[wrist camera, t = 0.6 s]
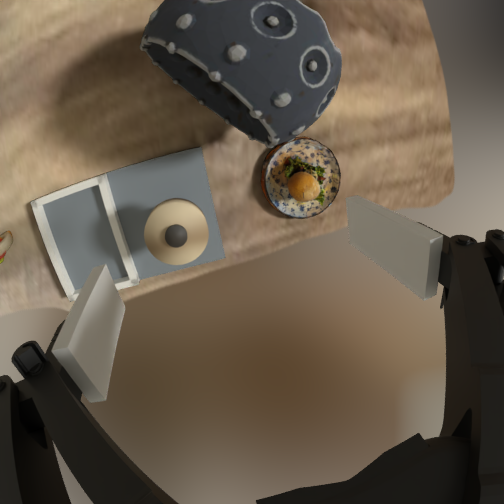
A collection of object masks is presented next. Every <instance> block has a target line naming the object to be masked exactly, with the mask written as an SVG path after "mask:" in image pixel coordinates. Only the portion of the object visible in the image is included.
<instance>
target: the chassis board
mask: <svg viewBox="0 0 504 504" xmlns="http://www.w3.org/2000/svg"><path fill="white" fill-rule="evenodd" d="M171 198H182V199H186V200H189V201H191V202H193V203H194V204H196V205H197V206H198V207H199V208H200V209H201V210H202V212H203V214H204V216H205V218H206V222H207V225H208V230H209V237H208V242H207V245H206V248H205V249H204V251H203V252H202V254H201V255H200V256H199V257H197V258H196V259H195V260H193V261H191V262H189V263H186V264H183V265H170V264H166V263H163V262H161V261H159V260H158V259H156V258H155V257H154V256H153V255H152V254H151V253H150V251H149V250H148V248H147V246H146V243H145V239H144V230H145V225H146V222H147V220H148V217H149V215H150V213H151V211H152V210H153V209H154V208H155V207H156V206H157V205H158V204H159V203H161V202H163V201H165V200H167V199H171ZM30 203H31V206H32V210H33V213H34V216H35V219H36V222H37V225H38V228H39V231H40V233H41V236H42V239H43V242H44V244H45V247H46V249H47V252H48V255H49V257H50V260H51V262H52V264H53V267H54V269H55V271H56V274H57V276H58V278H59V281H60V283H61V285H62V287H63V289H64V292H65V294H66V296H67V298H68V299H69V301H70V302H71V301H75V300H76V299H77V297H78V295H79V293H80V291H81V289H82V287H83V285H84V284H85V282H86V280H87V278H88V276H89V275H90V273H91V271H92V269H93V268H94V267H97V266H100V265H104V264H106V265H107V268H108V270H109V272H110V275H111V277H112V279H113V282H114V284H115V286H116V288H117V290H119V289H123V288H127V287H131V286H135V285H139V282H140V280H141V279H145V278H149V277H152V276H156V275H160V274H164V273H168V272H172V271H176V270H180V269H184V268H188V267H192V266H196V265H200V264H204V263H208V262H212V261H215V260H219V259H223V258H225V253H224V249H223V245H222V240H221V236H220V231H219V227H218V223H217V218H216V214H215V209H214V205H213V200H212V195H211V191H210V186H209V182H208V177H207V172H206V167H205V163H204V158H203V153H202V148H201V147H197V148H193V149H189V150H185V151H181V152H177V153H173V154H169V155H165V156H161V157H157V158H154V159H150V160H147V161H143V162H140V163H136V164H133V165H130V166H126V167H123V168H120V169H117V170H113V171H110V172H107V173H104V174H101V175H98V176H95V177H92V178H90V179H87V180H84V181H81V182H78V183H76V184H73V185H70V186H68V187H65V188H62V189H60V190H57V191H55V192H52V193H50V194H47V195H45V196H42V197H40V198H37V199H35V200H33V201H31V202H30Z"/></svg>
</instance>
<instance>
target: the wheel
mask: <svg viewBox="0 0 504 504" xmlns="http://www.w3.org/2000/svg"><path fill="white" fill-rule="evenodd" d="M208 237H209V230H208V225H207V222H206V218H205V216H204V214H203V212H202V210H201V209H200V208H199V207H198V206H197V205H196V204H194V203H193V202H191V201H189V200H186V199H182V198H171V199H167V200H165V201H163V202H161V203H159V204H158V205H157V206H156V207H155V208H154V209H153V210H152V211H151V213H150V215H149V217H148V220H147V222H146V225H145V230H144V239H145V243H146V246H147V248H148V250H149V251H150V253H151V254H152V255H153V256H154V257H155V258H156V259H158V260H159V261H161V262H163V263H166V264H170V265H183V264H186V263H189V262H191V261H193V260H195V259H196V258H197V257H199V256H200V255H201V254H202V252H203V251H204V249H205V248H206V245H207V242H208Z"/></svg>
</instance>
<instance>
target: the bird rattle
mask: <svg viewBox="0 0 504 504" xmlns="http://www.w3.org/2000/svg"><path fill="white" fill-rule="evenodd" d="M12 242H13V238H12V234H11V232H10V231H7V232H5V233H4V234H2V235H1V236H0V263H2V262H3V260H4V256H5V254H6V250H7V249H8V248H9V247H10V246H11V244H12Z"/></svg>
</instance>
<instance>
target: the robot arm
mask: <svg viewBox="0 0 504 504" xmlns="http://www.w3.org/2000/svg"><path fill="white" fill-rule="evenodd" d="M346 206H347V217H348V230H349V243H350V244H351V245H352V246H353V247H355V248H356V249H358V250H359V251H360V252H362V253H363V254H364V255H366V256H367V257H368V258H370V259H371V260H373V261H374V262H375V263H376V264H378V265H379V266H380V267H382V268H383V269H384V270H386V271H387V272H388V273H390V274H391V275H392V276H393V277H395V278H396V279H397V280H399V281H400V282H401V283H402V284H404V285H405V286H406V287H407V288H409V289H410V290H411V291H412V292H414V293H415V294H416V295H418V296H419V297H420V298H421V299H422V300H427V299H429V298H431V297H432V296H435V295H436V293H437V286H438V282H439V283H440V284H442V285H443V286H444V289H443V295H442V300H441V306H440V308H443V305H444V315H445V331H446V392H445V409H444V420H443V426H442V430H441V433H440V436H439V437H434V438H430V439H426V440H424V439H423V438H422V436H421V435H420V434H419V433H417V434H416V435H414V436H412V437H411V438H409V439H407V440H406V441H404V442H402V443H400V444H399V445H397V446H395V447H393V448H391V449H389V450H388V451H386V452H384V453H383V454H382V455H380V456H379V457H378V458H377V459H376V460H374V461H373V462H372V463H371V464H370V465H368V466H367V467H366V468H364V469H363V470H362V471H360V472H359V473H358V474H357V475H355V476H354V477H352V478H351V479H349V480H347V481H343V482H338V483H332V484H325V485H319V486H311V487H303V488H298V489H295V490H292V491H288V492H285V493H281V494H278V495H274V496H271V497H267V498H263V499H259V500H256V503H257V504H504V280H503V277H504V232H503V231H502V230H498V229H496V230H489V231H487V232H486V239H485V242H480V243H477V241H476V240H475V239H474V238H472V237H469V236H465V235H455V236H452V237H451V238H449V237H448V236H446V235H444V234H442V233H440V232H438V231H436V230H433V229H432V228H430V227H427V226H426V225H424V224H422V223H419V222H415V221H413V220H411V219H409V218H407V217H405V216H403V215H401V214H398V213H396V212H394V211H392V210H390V209H388V208H386V207H383V206H381V205H379V204H377V203H374V202H372V201H370V200H367V199H365V198H363V197H360V196H358V195H356V196H352V197H348V198H346ZM124 312H125V306H124V303H123V301H122V299H121V297H120V295H119V293H118V291H117V288H116V286H115V284H114V282H113V279H112V277H111V275H110V272H109V270H108V268H107V265H106V264H104V265H100V266H97V267H94V268H93V269H92V271H91V273H90V275H89V276H88V278H87V280H86V282H85V284H84V285H83V287H82V289H81V291H80V293H79V295H78V297H77V299H76V300H75V302H74V304H73V306H72V308H71V310H70V312H69V314H68V316H67V318H66V320H64V321H63V322H62V323H61V324H60V325H59V327H58V328H57V330H56V332H55V334H54V337H53V338H52V340H51V341H52V342H51V343H50V345H49V347H48V349H47V351H46V353H45V354H44V352H43V350H42V349H41V347H40V346H39V344H38V343H37V342H36V341H29V342H26V343H24V344H22V345H21V346H20V347H19V348H18V349H17V350H16V351H15V352H14V354H13V356H12V363H13V364H14V365H15V367H16V368H17V369H18V371H19V372H20V373H21V375H22V376H23V377H24V380H22V381H19V382H17V383H14V382H13V381H12V379H11V378H10V377H9V376H8V375H3V376H1V377H0V504H71V502H70V499H69V496H68V493H67V490H66V487H65V484H64V481H63V478H62V475H61V472H60V468H59V464H58V461H57V457H56V453H55V449H54V445H53V442H54V443H55V445H56V447H57V449H58V451H59V452H60V454H61V456H62V457H63V459H64V461H65V462H66V464H67V466H68V467H69V469H70V470H71V472H72V474H73V475H74V477H75V478H76V479H77V481H78V483H79V484H80V485H81V487H82V488H83V490H84V491H85V493H86V494H87V495H88V497H89V498H90V499H91V501H92V502H93V503H94V504H178V503H177V502H176V501H175V500H174V499H172V498H171V497H170V496H169V495H168V494H167V493H165V492H164V491H163V490H162V489H161V488H160V487H159V486H158V485H156V484H155V483H154V482H153V481H152V480H151V479H150V478H149V477H148V476H147V475H146V474H145V473H143V471H142V470H141V469H139V468H138V467H137V465H136V464H134V462H133V461H132V460H130V458H129V457H128V456H127V455H126V454H125V453H124V452H123V451H122V450H121V449H120V448H119V447H118V445H117V444H116V443H115V442H114V441H113V440H112V439H111V438H110V436H109V435H108V434H107V433H106V432H105V430H104V429H103V428H102V427H101V426H100V424H99V423H98V422H97V421H96V420H95V418H94V417H93V416H92V414H91V413H90V412H89V411H88V409H87V408H86V407H85V405H84V404H83V403H82V402H81V401H80V400H81V396H82V393H83V394H84V396H85V397H86V398H87V399H88V401H89V402H98V401H105V400H106V398H107V392H108V386H109V381H110V375H111V370H112V365H113V360H114V355H115V350H116V345H117V341H118V337H119V332H120V328H121V324H122V319H123V316H124ZM52 440H53V441H52Z"/></svg>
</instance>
